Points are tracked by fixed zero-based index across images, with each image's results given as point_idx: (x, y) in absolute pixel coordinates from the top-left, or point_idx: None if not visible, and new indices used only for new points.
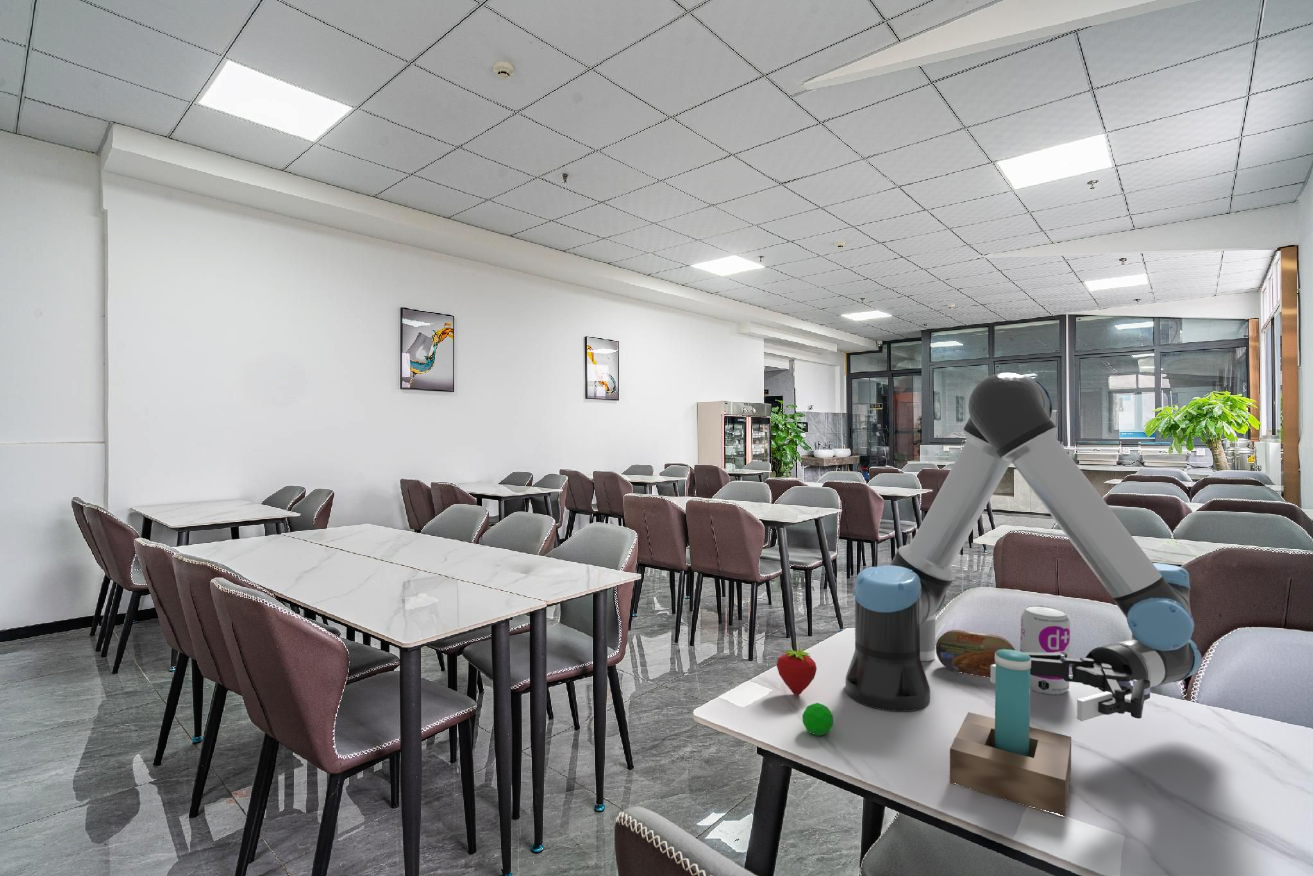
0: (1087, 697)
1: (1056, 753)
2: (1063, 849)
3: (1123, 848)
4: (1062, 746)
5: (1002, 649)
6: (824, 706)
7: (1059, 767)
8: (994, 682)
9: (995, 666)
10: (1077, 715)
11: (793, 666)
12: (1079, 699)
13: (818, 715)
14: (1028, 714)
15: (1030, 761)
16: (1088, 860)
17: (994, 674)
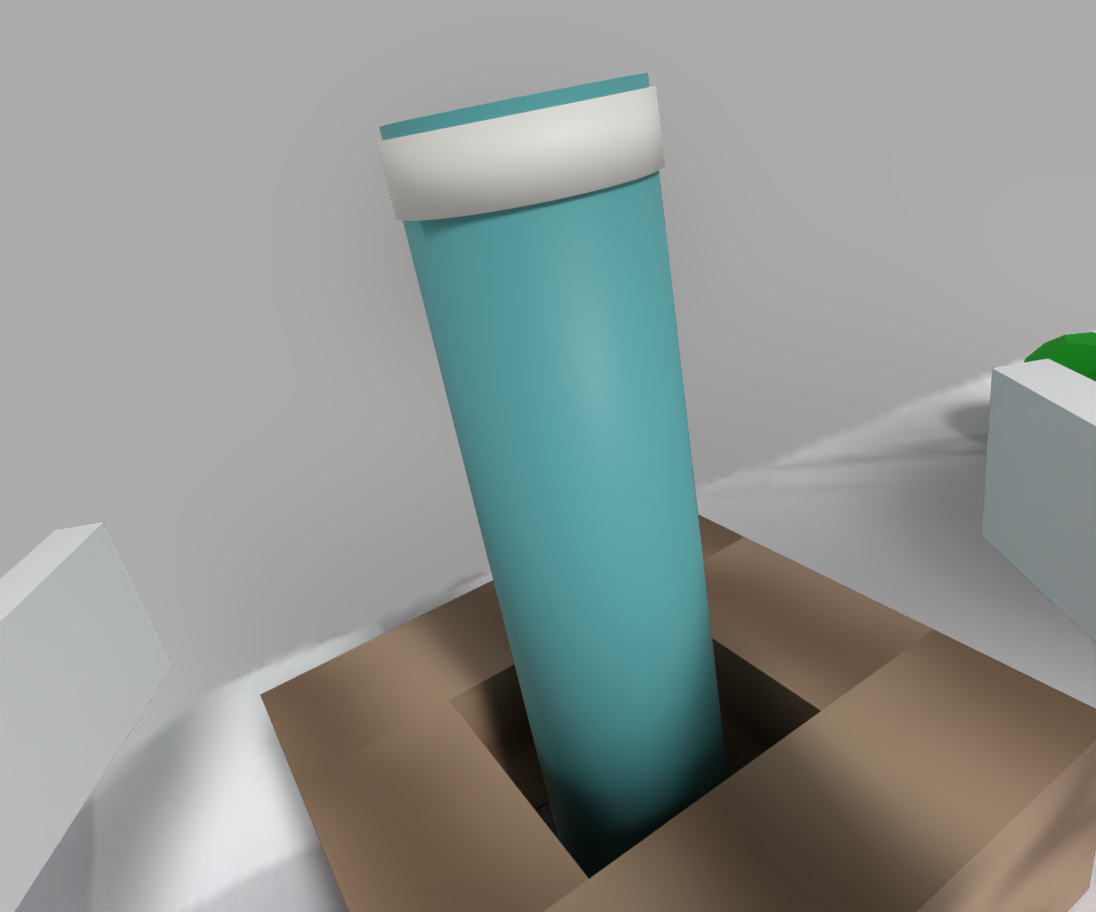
0: (10, 598)
1: (407, 846)
2: (256, 699)
3: (87, 878)
4: None
5: (645, 74)
6: (1089, 352)
7: (323, 746)
8: (984, 523)
9: (1002, 371)
10: (156, 641)
11: None
12: (84, 532)
13: (1032, 357)
14: (488, 556)
15: (438, 668)
16: (184, 725)
17: (992, 449)
